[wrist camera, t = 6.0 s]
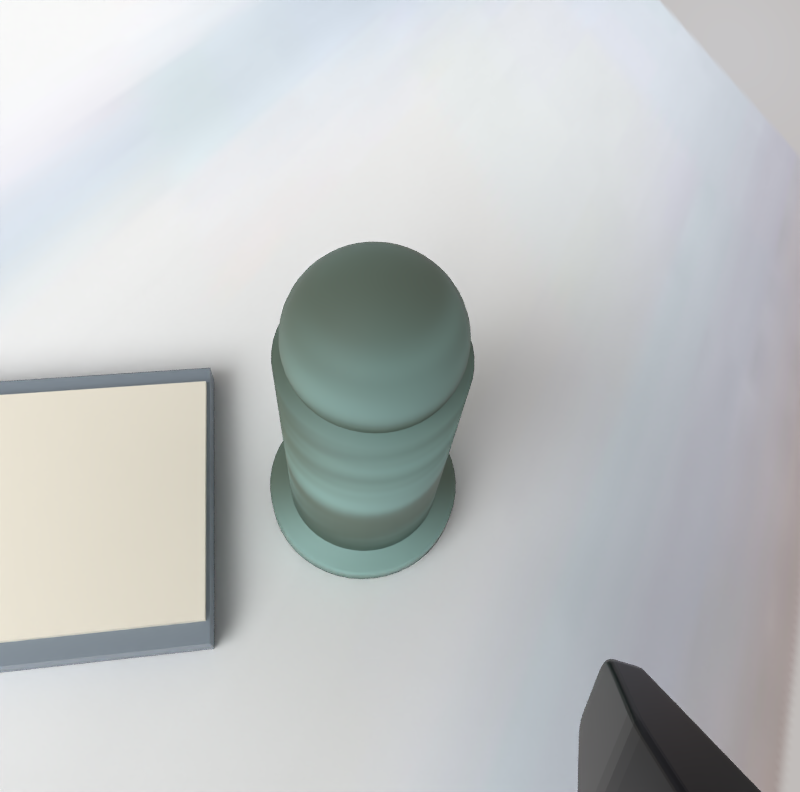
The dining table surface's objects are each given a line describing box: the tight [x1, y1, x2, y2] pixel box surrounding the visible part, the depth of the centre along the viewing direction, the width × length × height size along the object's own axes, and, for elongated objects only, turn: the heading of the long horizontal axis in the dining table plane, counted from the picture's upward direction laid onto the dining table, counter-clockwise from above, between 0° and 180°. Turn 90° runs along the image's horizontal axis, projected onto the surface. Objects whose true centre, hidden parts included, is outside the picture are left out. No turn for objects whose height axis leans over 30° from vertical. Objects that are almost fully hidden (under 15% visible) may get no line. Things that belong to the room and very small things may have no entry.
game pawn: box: [270, 242, 474, 579], centre depth 18 cm, size 6×6×11 cm
